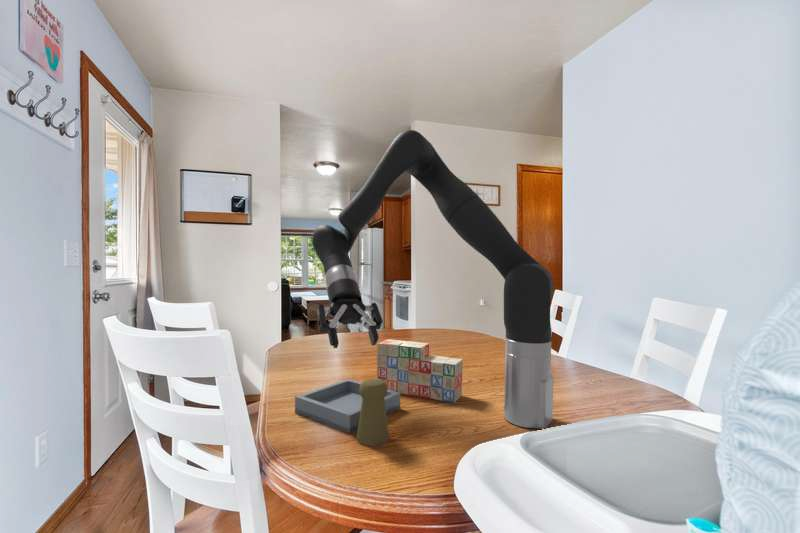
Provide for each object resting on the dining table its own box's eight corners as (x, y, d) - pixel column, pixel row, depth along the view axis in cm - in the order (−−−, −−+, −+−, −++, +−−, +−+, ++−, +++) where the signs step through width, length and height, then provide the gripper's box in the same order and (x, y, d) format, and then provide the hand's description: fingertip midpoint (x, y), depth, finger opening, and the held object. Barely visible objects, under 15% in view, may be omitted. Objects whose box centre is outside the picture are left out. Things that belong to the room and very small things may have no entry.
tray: (400, 408, 87) (400, 392, 87) (349, 433, 74) (349, 415, 74) (347, 392, 97) (347, 378, 97) (294, 412, 83) (295, 396, 83)
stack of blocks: (462, 396, 96) (463, 347, 96) (454, 404, 90) (455, 352, 90) (387, 382, 106) (388, 338, 106) (376, 389, 100) (376, 342, 100)
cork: (384, 448, 68) (385, 386, 68) (352, 444, 69) (353, 383, 69) (391, 433, 74) (392, 376, 74) (362, 430, 75) (362, 374, 75)
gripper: (315, 277, 87) (325, 336, 77) (374, 277, 93) (391, 332, 82) (310, 298, 92) (319, 357, 82) (366, 297, 98) (382, 351, 87)
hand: (355, 344), depth 82 cm, fingers open, 8 cm apart
